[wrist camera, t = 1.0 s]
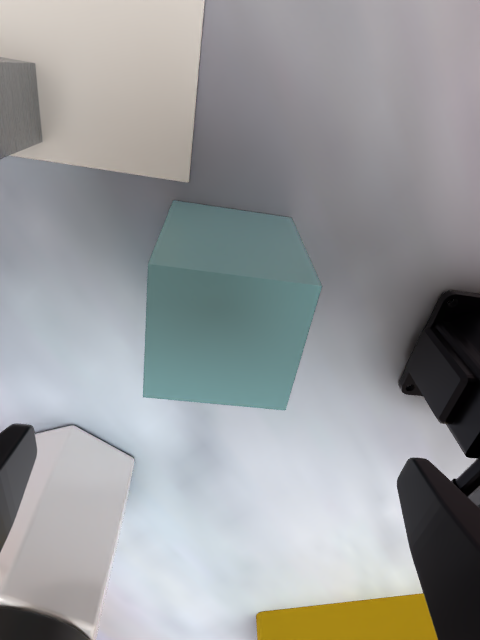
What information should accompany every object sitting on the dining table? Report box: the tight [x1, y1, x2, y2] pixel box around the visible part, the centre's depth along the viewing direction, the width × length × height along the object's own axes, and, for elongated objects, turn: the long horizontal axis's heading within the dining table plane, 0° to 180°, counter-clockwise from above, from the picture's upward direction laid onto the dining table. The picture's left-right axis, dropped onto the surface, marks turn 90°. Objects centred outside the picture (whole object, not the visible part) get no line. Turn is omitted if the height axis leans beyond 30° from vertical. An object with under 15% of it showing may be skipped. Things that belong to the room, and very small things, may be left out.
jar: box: [0, 425, 134, 640], centre depth 21 cm, size 9×8×12 cm
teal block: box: [143, 200, 322, 410], centre depth 16 cm, size 5×5×7 cm
